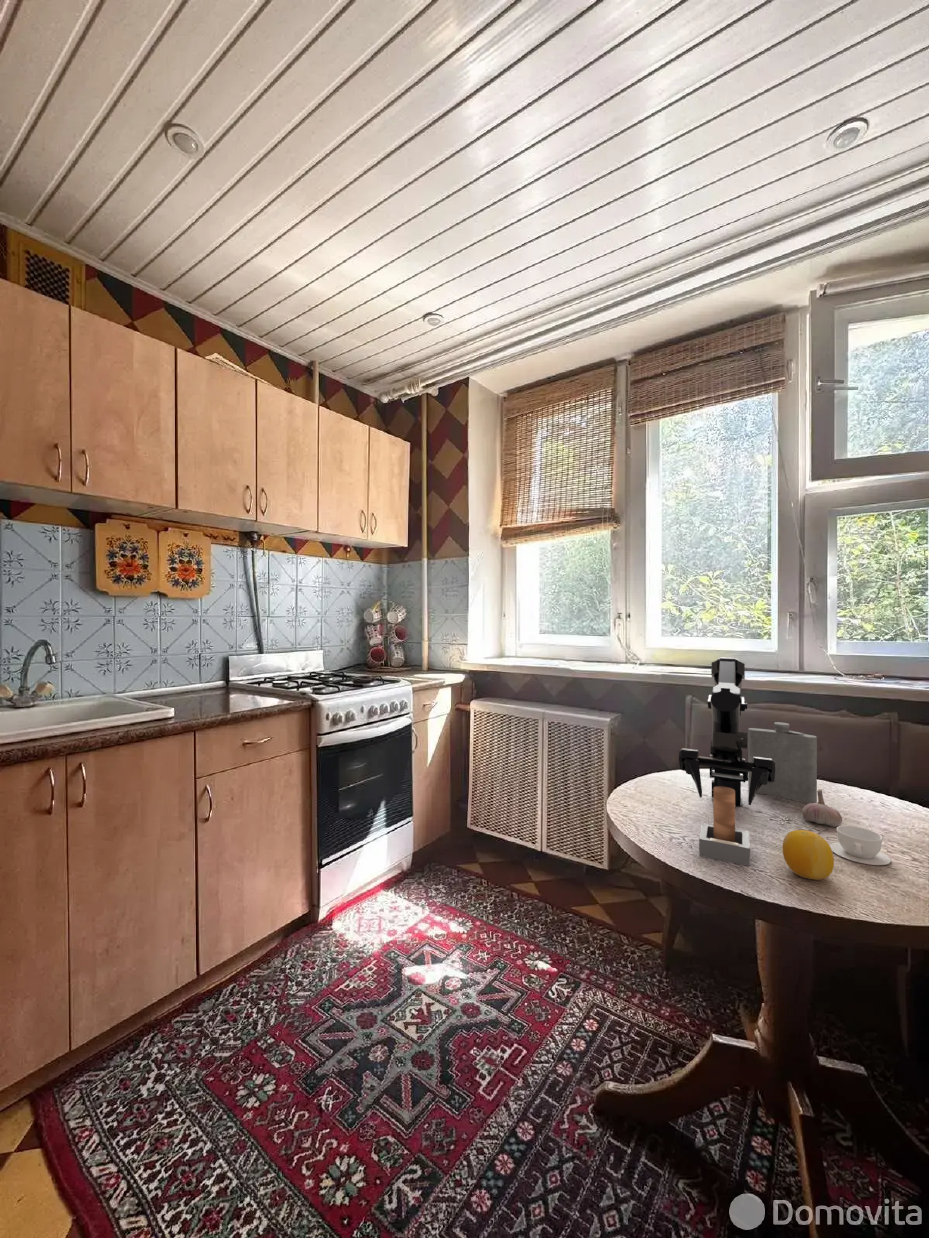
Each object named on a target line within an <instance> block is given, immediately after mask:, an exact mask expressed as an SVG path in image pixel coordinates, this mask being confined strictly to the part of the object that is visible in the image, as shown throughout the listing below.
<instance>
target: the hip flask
mask: <svg viewBox="0 0 929 1238" xmlns="http://www.w3.org/2000/svg"><path fill="white" fill-rule="evenodd" d="M773 726H774V729H766V728H755V727H749V728H747V729H748V732H747V750H748V751H747V753H748V755H747V757H748V760H747V762H750V763H753V760H754V757H762V758H771V759H773V761H774V762H775V780H774V782H768V784H767V785H761V787H760V788H759V790H758V791H757V793H756V794H761V795H768V796H773V797H779V798H783V797H784V799H789V800H794V801H797V802H801V803H807V804H810V803H818V793H817V791H818V780H817V779H818V776H817V775H818V768H817V766H818V761H817V760H818V749H817V748H818V738H817V737H818V736H816V735H812V734H805V733H804V732H799V731H794V730H790V729H789V728H790V723H787V722H780V721H777V722H776V721H775V722H774V723H773ZM751 775H752V772H748V781H747V782H748V788H747V789H748V791H749V789H750V782H751Z"/></svg>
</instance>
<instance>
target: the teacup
mask: <svg viewBox="0 0 929 1238" xmlns="http://www.w3.org/2000/svg"><path fill="white" fill-rule="evenodd" d="M836 834H837V835H836V836H837V838H838V839H837V841H838V842H836V841H835V842H832V843H830V844H829V846H830V847H831V850H832V852H833V854H836V855H838V856H839V857H841V858H844V859H846V860H849V861H852V862H855V863H861V864H866V865H874V866H885V865H889V864H891V863H892V859H891V858H890V856H889V855H887V854H886V853H884V852H883V851H881V850H882V843H883V836H882V835H881V834H879V833H878V832H876V831H874V830H872V829H869V828H865V827H861V826H855V825H847V824H846V825H845V824H844V825H838V826H836Z"/></svg>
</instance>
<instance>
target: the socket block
mask: <svg viewBox="0 0 929 1238" xmlns="http://www.w3.org/2000/svg"><path fill="white" fill-rule="evenodd" d="M699 832H700V833H699V837H698V846H699V849H698V851H699V852H698V854H699V856H700V857H702V858H708V859H713V860H717V861H722V862H728V863H732V864H735V865H736V864H738V865H742V866H744V867H745V866H746V867H750V866H751V847H750V844H751V843H750V842H751V841H750V831H748V830H743V829H737V828H735V842H730V841H725V840H720V839H714V824H710V823H704V822H702V823H701V826H700V831H699Z"/></svg>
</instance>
